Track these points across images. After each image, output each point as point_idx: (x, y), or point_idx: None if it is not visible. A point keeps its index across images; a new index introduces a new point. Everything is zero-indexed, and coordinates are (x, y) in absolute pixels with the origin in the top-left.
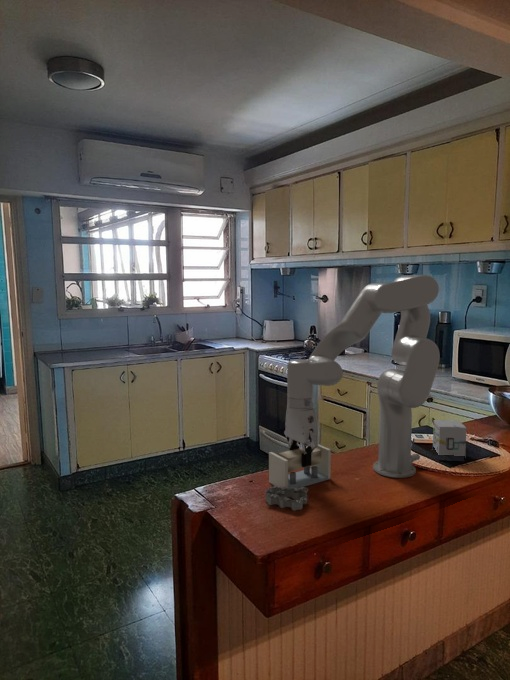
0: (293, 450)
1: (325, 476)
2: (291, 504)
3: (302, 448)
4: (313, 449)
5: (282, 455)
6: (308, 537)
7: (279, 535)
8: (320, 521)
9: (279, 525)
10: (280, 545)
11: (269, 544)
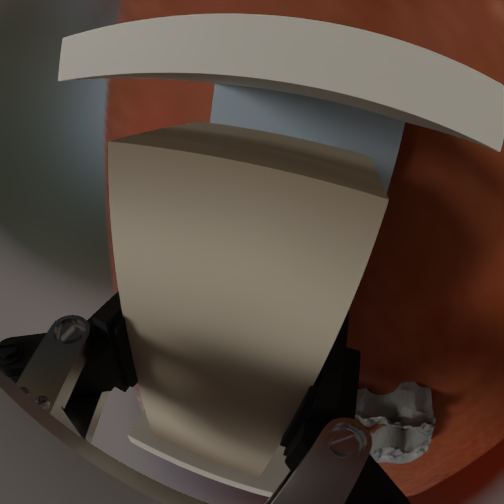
0: (150, 380)
1: (388, 125)
2: (397, 436)
3: (274, 496)
4: (398, 497)
5: (195, 453)
6: (474, 458)
7: (420, 476)
8: (491, 423)
9: (405, 466)
10: (432, 483)
11: (414, 487)
